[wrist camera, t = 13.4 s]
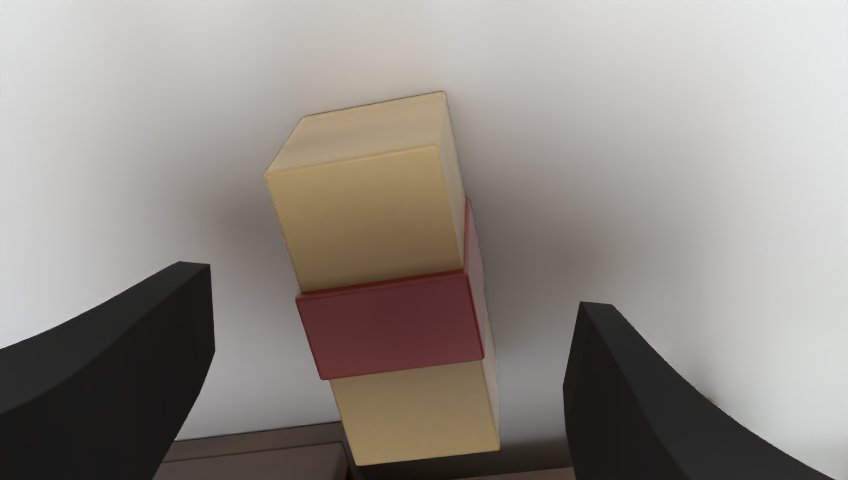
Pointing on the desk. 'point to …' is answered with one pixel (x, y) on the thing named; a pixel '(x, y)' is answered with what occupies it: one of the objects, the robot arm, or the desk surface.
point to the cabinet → (264, 456)
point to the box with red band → (390, 278)
